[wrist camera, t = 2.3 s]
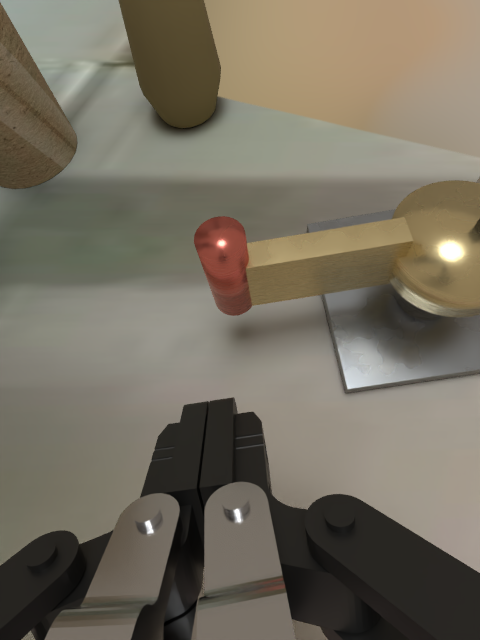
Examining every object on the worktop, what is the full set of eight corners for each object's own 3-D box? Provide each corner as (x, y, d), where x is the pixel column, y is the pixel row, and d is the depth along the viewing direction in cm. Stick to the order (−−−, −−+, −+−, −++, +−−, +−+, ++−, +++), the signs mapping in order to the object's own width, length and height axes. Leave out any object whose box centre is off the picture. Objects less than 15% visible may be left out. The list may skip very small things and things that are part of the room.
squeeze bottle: (232, 127, 40) (195, -127, 24) (154, 145, 40) (64, -97, 24) (220, 77, 44) (180, -176, 27) (148, 93, 44) (66, -149, 28)
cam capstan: (221, 358, 24) (200, 312, 18) (209, 250, 28) (188, 182, 22) (536, 309, 23) (620, 244, 18) (484, 204, 27) (540, 120, 21)
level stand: (345, 393, 28) (366, 354, 21) (306, 233, 34) (312, 158, 27) (564, 360, 27) (668, 308, 20) (486, 202, 33) (543, 117, 26)
